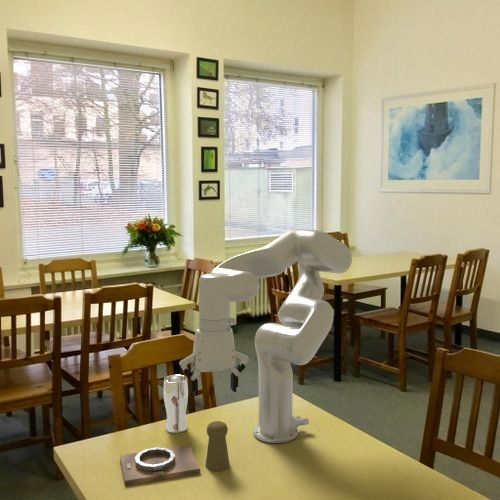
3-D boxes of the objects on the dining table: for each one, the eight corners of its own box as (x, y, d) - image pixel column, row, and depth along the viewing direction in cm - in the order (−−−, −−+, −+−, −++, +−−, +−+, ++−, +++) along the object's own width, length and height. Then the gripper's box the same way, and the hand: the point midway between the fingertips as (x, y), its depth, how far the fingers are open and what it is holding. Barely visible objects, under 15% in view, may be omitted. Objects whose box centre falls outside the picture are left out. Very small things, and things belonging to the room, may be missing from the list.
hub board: (189, 449, 147) (189, 444, 147) (200, 473, 135) (200, 467, 135) (120, 459, 142) (120, 454, 142) (125, 485, 130) (124, 480, 130)
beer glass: (193, 426, 162) (192, 376, 160) (180, 435, 155) (179, 384, 154) (172, 421, 164) (171, 373, 163) (159, 431, 158) (158, 380, 156)
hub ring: (171, 450, 144) (170, 445, 144) (177, 468, 135) (177, 462, 135) (133, 456, 141) (133, 450, 141) (137, 475, 132) (137, 469, 132)
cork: (226, 472, 135) (225, 429, 134) (202, 470, 137) (201, 427, 135) (232, 460, 141) (231, 419, 140) (209, 458, 143) (208, 417, 141)
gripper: (244, 318, 141) (244, 383, 143) (176, 323, 136) (177, 390, 138) (252, 325, 134) (252, 394, 136) (181, 330, 129) (182, 401, 131)
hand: (214, 392), depth 137 cm, fingers open, 9 cm apart
